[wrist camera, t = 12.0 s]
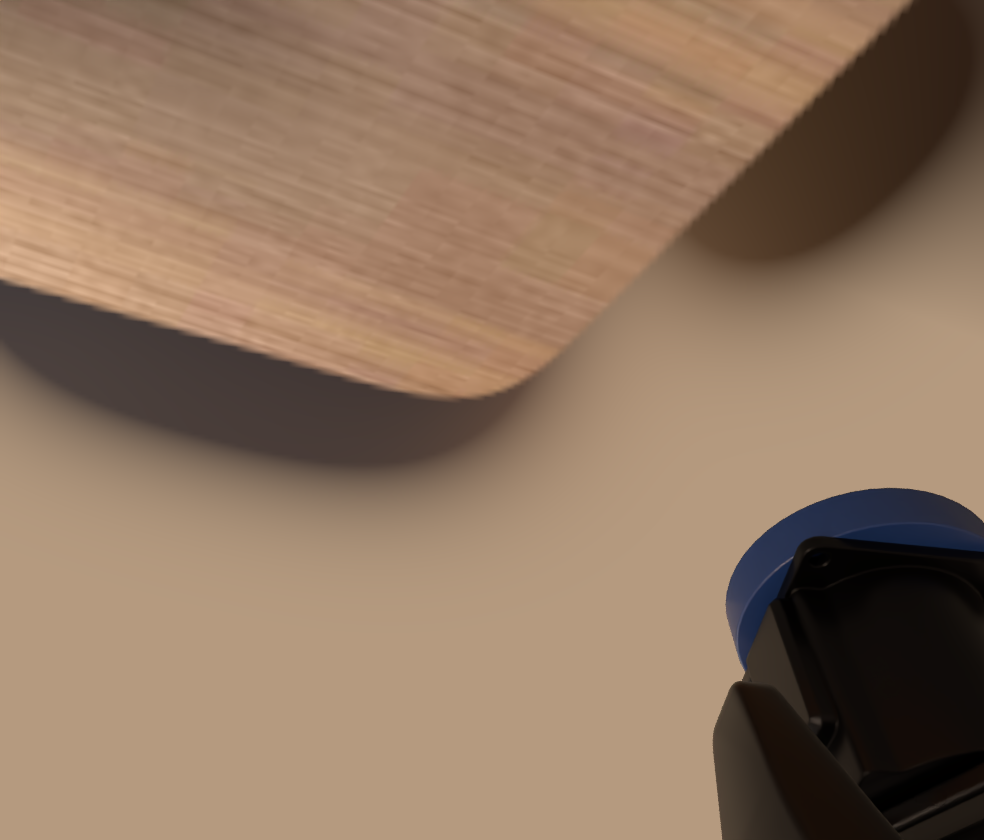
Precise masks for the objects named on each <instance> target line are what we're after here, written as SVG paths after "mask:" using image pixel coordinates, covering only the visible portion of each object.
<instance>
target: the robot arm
mask: <svg viewBox="0 0 984 840" xmlns="http://www.w3.org/2000/svg"><path fill="white" fill-rule="evenodd" d="M817 553H822V554H821V555H819V556H815V557H812V556H813V555H815V554H817ZM746 664H747V670H746V672H745V675H744V677H743V679H742V681H738V682H735V683H734V684H733V685H732V686H731V688H730V690H729V692H728V695H727V697H726V700H725V702H724V705H723V707H722V710H721V713H720V715H719V717H718V720H717V723H716V725H715V728H714V733H713V754H714V763H715V773H716V782H717V792H718V801H719V811H720V820H721V830H722V840H984V552H981V551H970V550H960V549H950V548H939V547H929V546H918V545H908V544H898V543H887V542H877V541H867V540H856V539H846V538H835V537H825V536H813V537H811V538H808V539H806V540H804V541H803V542H801V543H800V545H799V546H798V548H797V550H796V552H795V554H794V557H793V559H792V562H791V564H790V566H789V569H788V571H787V574H786V576H785V578H784V581H783V583H782V586H781V588H780V590H779V593H778V595H777V598H775V599H774V600H773V601H772V602H771V603H770V604H769V605H768V607H767V610H766V612H765V615H764V617H763V619H762V622H761V624H760V627H759V629H758V632H757V634H756V636H755V639H754V641H753V644H752V646H751V649H750V651H749V653H748V656H747V658H746Z"/></svg>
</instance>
